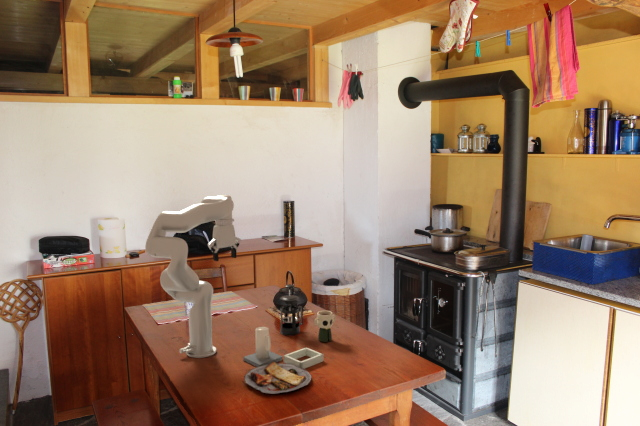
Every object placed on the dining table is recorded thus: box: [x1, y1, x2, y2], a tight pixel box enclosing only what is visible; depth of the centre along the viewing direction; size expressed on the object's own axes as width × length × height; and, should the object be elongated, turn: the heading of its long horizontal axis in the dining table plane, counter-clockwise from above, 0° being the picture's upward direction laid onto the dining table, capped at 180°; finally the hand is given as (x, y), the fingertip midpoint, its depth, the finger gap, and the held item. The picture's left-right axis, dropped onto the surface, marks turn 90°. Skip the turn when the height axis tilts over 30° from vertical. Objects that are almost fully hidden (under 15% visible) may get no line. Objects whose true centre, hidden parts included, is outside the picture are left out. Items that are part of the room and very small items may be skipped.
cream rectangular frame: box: [283, 347, 324, 370], centre depth 227 cm, size 12×10×3 cm
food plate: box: [243, 362, 312, 395], centre depth 209 cm, size 25×23×4 cm
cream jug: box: [254, 326, 272, 360], centre depth 227 cm, size 8×6×12 cm
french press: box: [279, 284, 304, 337], centre depth 260 cm, size 12×9×23 cm
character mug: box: [313, 310, 336, 343], centre depth 250 cm, size 11×7×13 cm, turn 121°
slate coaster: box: [242, 351, 284, 367], centre depth 229 cm, size 12×11×2 cm
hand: (225, 259), depth 253 cm, fingers open, 9 cm apart
